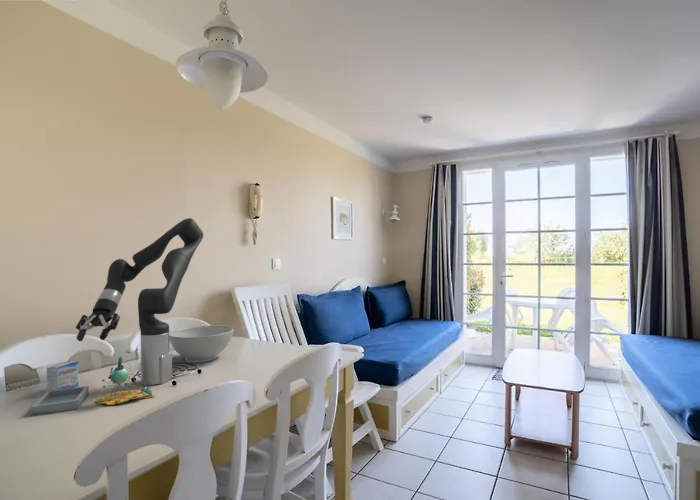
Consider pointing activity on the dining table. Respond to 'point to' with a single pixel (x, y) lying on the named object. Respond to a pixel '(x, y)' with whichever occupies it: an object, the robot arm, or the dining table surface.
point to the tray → (60, 400)
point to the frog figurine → (118, 378)
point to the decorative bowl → (200, 341)
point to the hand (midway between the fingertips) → (90, 339)
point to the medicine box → (62, 376)
